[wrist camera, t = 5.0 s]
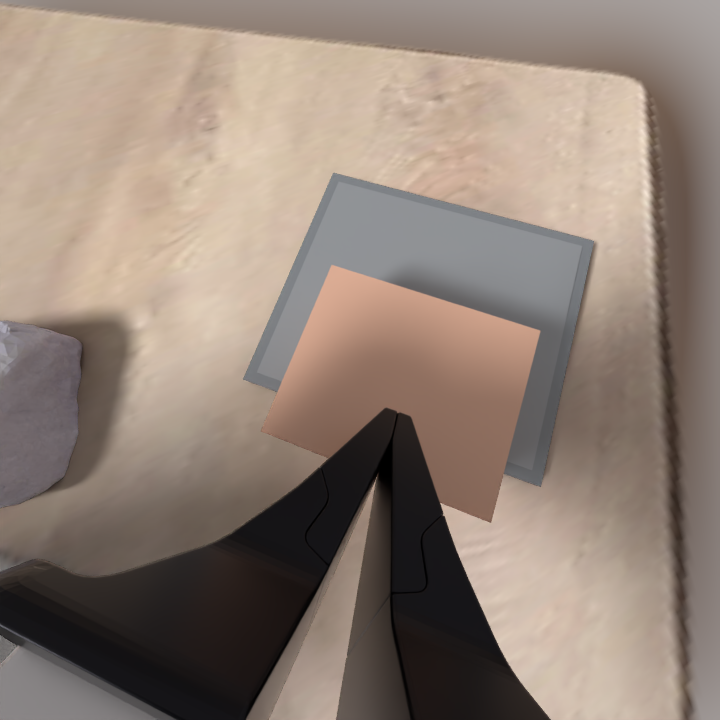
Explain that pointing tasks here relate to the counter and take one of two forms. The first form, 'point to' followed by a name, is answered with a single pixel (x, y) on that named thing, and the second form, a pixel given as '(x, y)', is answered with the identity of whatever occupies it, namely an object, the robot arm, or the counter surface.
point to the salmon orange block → (409, 381)
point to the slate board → (443, 285)
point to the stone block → (36, 408)
